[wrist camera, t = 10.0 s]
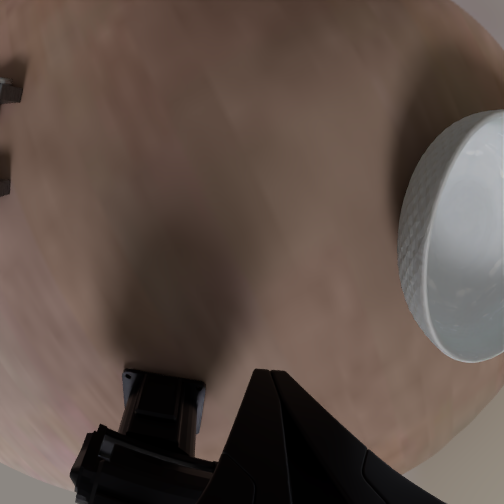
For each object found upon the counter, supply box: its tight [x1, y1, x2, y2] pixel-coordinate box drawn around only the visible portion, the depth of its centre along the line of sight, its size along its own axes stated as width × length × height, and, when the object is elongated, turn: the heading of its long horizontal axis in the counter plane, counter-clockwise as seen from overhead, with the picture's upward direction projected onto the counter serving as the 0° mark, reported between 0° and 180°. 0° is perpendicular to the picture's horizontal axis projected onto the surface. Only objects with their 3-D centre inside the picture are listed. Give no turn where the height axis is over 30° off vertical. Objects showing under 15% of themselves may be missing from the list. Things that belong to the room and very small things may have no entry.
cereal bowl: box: [397, 109, 504, 363], centre depth 17 cm, size 17×17×7 cm
